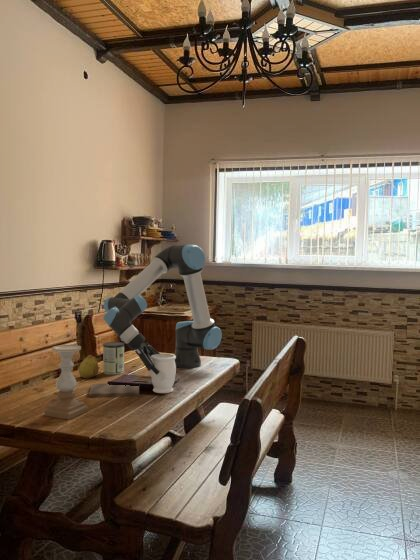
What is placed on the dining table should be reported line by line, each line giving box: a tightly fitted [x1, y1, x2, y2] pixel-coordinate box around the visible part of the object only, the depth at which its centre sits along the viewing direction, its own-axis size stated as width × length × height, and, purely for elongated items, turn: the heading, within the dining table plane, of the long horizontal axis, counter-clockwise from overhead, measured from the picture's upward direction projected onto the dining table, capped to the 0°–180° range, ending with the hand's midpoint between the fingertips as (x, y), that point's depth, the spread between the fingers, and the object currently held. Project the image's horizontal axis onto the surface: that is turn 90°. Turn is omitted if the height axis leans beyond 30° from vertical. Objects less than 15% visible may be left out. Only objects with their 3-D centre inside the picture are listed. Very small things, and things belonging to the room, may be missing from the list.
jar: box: [150, 353, 177, 394], centre depth 207 cm, size 11×10×15 cm
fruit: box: [78, 351, 100, 379], centre depth 229 cm, size 9×9×12 cm
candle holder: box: [44, 344, 89, 421], centre depth 176 cm, size 11×11×24 cm
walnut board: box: [88, 383, 140, 398], centre depth 207 cm, size 20×16×1 cm
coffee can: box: [102, 341, 126, 376], centre depth 239 cm, size 10×10×14 cm
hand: (167, 375), depth 207 cm, fingers open, 13 cm apart
